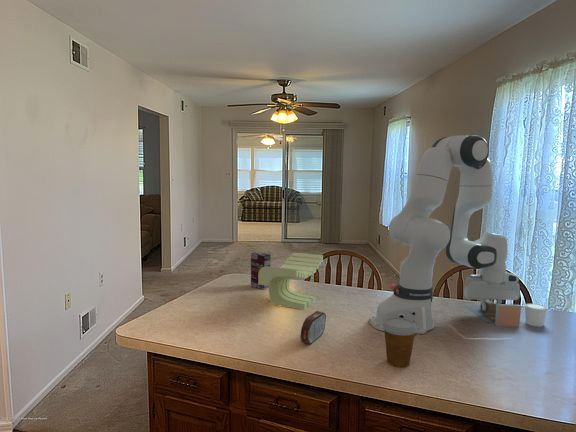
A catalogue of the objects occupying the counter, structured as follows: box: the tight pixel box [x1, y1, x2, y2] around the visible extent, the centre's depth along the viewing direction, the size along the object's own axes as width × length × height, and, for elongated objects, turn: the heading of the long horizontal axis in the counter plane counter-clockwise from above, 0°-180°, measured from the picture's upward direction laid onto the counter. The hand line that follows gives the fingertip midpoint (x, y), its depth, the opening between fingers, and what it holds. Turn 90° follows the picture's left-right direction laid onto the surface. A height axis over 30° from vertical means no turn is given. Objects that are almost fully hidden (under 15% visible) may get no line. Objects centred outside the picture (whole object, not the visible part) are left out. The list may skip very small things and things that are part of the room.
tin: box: [300, 310, 327, 345], centre depth 141 cm, size 15×3×8 cm, turn 152°
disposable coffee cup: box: [383, 317, 417, 368], centre depth 124 cm, size 10×10×12 cm
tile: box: [494, 303, 522, 327], centre depth 154 cm, size 8×2×8 cm, turn 91°
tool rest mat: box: [464, 305, 521, 324], centre depth 167 cm, size 12×20×1 cm, turn 1°
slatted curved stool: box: [258, 252, 324, 310], centre depth 179 cm, size 30×16×18 cm, turn 156°
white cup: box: [524, 303, 548, 327], centre depth 157 cm, size 7×7×7 cm
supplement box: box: [250, 251, 272, 290], centre depth 201 cm, size 9×5×16 cm, turn 50°
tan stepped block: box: [479, 300, 496, 321], centre depth 165 cm, size 14×6×4 cm, turn 1°
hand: (490, 310), depth 167 cm, fingers closed on tan stepped block, 2 cm apart
